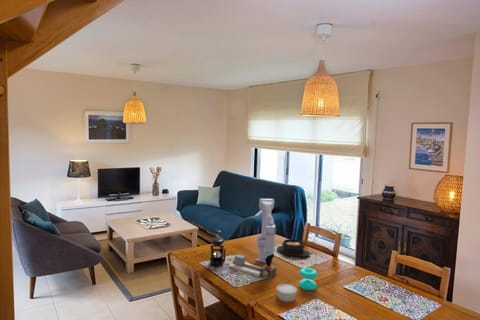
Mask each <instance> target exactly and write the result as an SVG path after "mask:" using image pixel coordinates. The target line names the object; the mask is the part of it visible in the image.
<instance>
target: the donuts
mask: <svg viewBox="0 0 480 320" xmlns="http://www.w3.org/2000/svg"><path fill="white" fill-rule="evenodd" d="M299 274H300V276H301V277H303V279H301V280H300V281H299V282H298V285H299V287H300V288H301V289H303V290H306V291H315V290H316V289H317V287H318V286H317V283H316V282H315V281H314V280H312V279H315V278H317V277H318V272H317V270H316V269H313V268H311V267H303V268H301V269H300V270H299Z"/></svg>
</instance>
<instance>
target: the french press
mask: <svg viewBox="0 0 480 320" xmlns="http://www.w3.org/2000/svg"><path fill="white" fill-rule="evenodd" d="M221 231H222V230H220V229H216V230H214V232H215V233H216V235H217V237H212V238H210V242H211V244H212V245H210V258H209V266H211V267H214V268H220V267H219V266H221V267H222V265H223V264H224V263H225V262H226V250H227V249H226V248H225V246H224V245H223V244H224V242H225V239H224V238H223V237H219V233H221ZM214 247H216V248H214ZM218 247H219V248H218ZM223 266H224V265H223Z"/></svg>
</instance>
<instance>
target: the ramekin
mask: <svg viewBox="0 0 480 320" xmlns="http://www.w3.org/2000/svg"><path fill="white" fill-rule="evenodd" d="M275 289H276V295H277V298H278V300H280V301H282V302H286V303H288V302H293V301H294V300H296V296H297V292H298V289H297V287H295V286H294V285H293V284H292V285H291V284H289V283H288V284H287V283H282V284H278V285H277V286H276V288H275Z"/></svg>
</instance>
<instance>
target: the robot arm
mask: <svg viewBox="0 0 480 320" xmlns="http://www.w3.org/2000/svg"><path fill="white" fill-rule="evenodd" d="M274 207H275V199H274V198H259V202H258V209H259V210H260V211H261V233H260V234H259V235H257V239H256V246H257V248H258V258H255V261H258V262H260V263H264V264H265V265H267V266H269V267H270V266H272V263H273V262H272V261H273V259H274V257H275V252H276V248H275V238H276V237H275V236H276V233H277V228H276V226H277V225H276V224H275V220H274V217H273V216H272V211H273V209H274Z"/></svg>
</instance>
